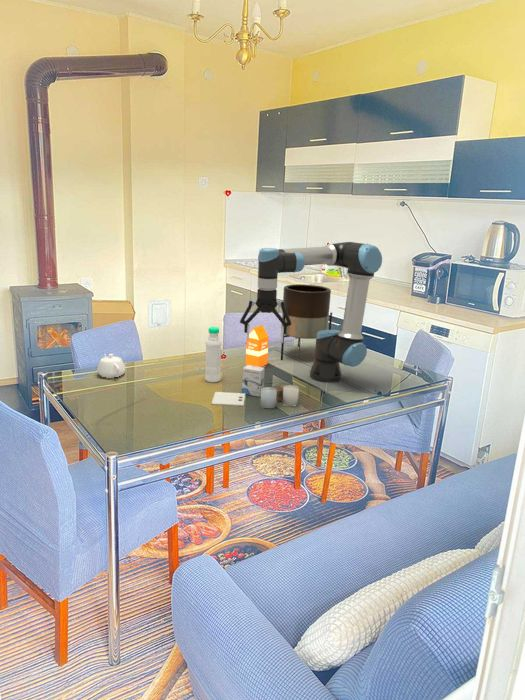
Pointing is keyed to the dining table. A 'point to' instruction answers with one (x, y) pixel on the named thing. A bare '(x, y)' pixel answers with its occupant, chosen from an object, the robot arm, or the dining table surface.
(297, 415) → the dining table surface
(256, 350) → the orange juice
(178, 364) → the dining table surface
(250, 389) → the ink box
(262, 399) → the domed pale cylinder
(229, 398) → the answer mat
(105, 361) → the teapot
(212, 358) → the water bottle
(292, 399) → the cream rounded-top cylinder
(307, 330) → the planter
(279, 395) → the walnut block
